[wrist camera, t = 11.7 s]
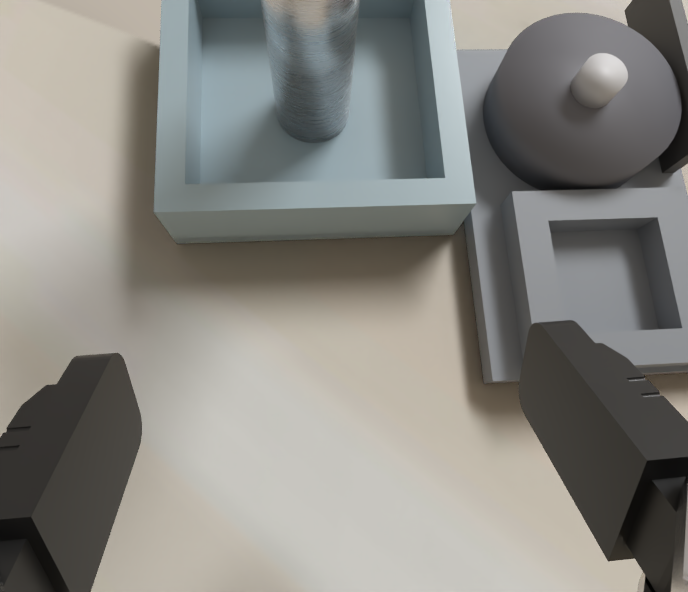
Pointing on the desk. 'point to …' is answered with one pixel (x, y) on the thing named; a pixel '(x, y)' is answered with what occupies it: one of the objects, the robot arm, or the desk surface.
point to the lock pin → (311, 64)
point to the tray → (301, 157)
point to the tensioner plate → (573, 256)
